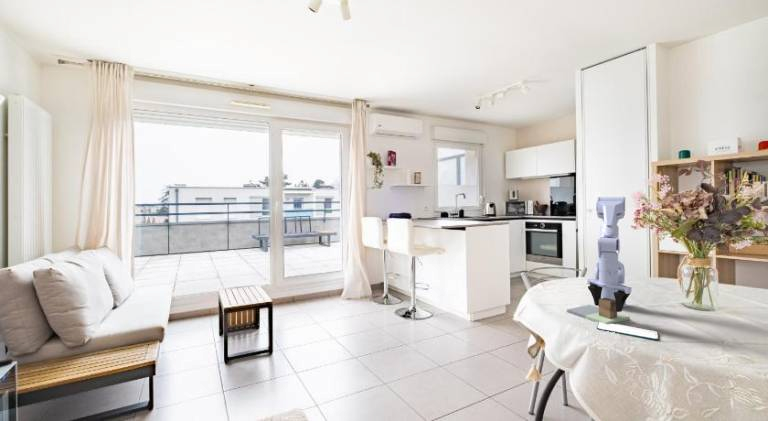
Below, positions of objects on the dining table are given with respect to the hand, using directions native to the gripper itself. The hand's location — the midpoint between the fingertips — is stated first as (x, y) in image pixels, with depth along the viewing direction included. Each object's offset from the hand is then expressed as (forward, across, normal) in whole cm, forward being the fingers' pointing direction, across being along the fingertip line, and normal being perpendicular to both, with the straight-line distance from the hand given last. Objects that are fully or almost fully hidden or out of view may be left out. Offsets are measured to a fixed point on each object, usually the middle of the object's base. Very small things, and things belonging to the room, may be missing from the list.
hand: (608, 308), depth 122 cm
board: (+4, -4, 0) cm, 6 cm away
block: (+3, 0, 0) cm, 3 cm away
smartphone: (+4, +10, -5) cm, 12 cm away
